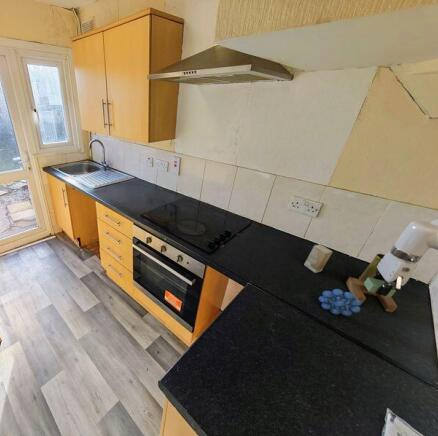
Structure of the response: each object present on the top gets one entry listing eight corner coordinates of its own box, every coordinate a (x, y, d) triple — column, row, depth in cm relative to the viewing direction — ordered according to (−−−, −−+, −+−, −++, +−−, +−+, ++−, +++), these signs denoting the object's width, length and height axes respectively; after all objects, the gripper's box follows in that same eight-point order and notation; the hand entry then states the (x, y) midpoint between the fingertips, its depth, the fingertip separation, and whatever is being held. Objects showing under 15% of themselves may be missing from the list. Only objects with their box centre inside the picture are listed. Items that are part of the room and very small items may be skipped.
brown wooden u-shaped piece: (378, 290, 98) (383, 285, 97) (392, 312, 89) (397, 306, 87) (345, 282, 102) (349, 276, 100) (355, 302, 92) (359, 296, 91)
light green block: (384, 288, 91) (389, 282, 90) (390, 297, 87) (396, 291, 86) (363, 283, 94) (368, 276, 92) (368, 291, 90) (373, 285, 88)
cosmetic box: (303, 265, 112) (313, 245, 106) (309, 263, 113) (319, 243, 107) (315, 273, 107) (326, 253, 101) (322, 271, 108) (333, 251, 102)
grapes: (352, 315, 87) (368, 293, 81) (350, 326, 83) (367, 304, 77) (317, 298, 94) (329, 276, 88) (313, 307, 90) (326, 286, 84)
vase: (374, 280, 104) (392, 256, 97) (377, 288, 99) (396, 263, 92) (357, 275, 107) (373, 251, 100) (360, 283, 102) (376, 258, 95)
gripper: (434, 271, 73) (400, 309, 82) (405, 243, 87) (379, 278, 96) (404, 265, 75) (375, 302, 84) (381, 238, 89) (357, 272, 98)
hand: (377, 289), depth 90 cm, fingers closed on light green block, 5 cm apart
